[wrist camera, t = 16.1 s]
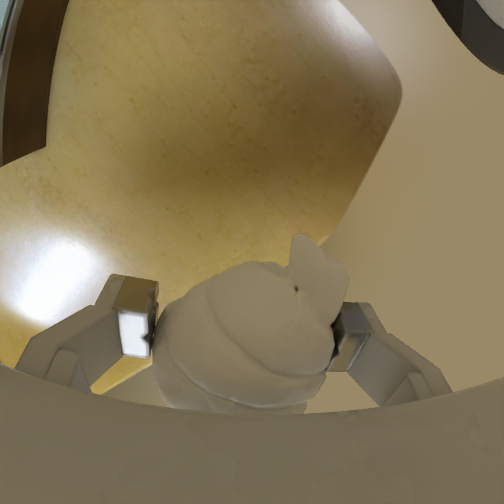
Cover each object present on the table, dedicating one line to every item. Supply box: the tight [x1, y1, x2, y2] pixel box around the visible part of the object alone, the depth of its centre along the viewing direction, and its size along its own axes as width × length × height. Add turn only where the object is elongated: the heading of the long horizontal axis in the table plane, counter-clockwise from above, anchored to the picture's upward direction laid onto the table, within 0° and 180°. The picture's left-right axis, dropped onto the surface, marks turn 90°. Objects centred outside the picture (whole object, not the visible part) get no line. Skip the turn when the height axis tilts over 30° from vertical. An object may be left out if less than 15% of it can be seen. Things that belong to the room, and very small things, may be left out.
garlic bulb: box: [152, 233, 349, 414], centre depth 9 cm, size 6×6×5 cm
